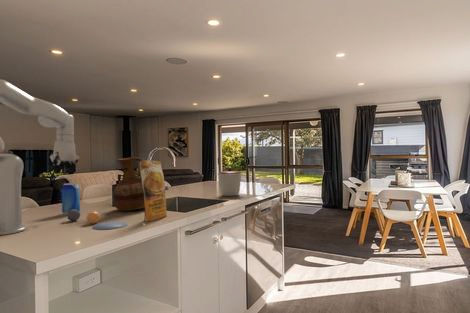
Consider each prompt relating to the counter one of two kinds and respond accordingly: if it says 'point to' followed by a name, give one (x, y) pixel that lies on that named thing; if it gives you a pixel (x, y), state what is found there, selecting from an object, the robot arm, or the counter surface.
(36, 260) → the counter surface
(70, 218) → the gray ball
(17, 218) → the robot arm
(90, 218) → the object ball
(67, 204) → the blue carton
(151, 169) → the pancake mix bag
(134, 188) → the ceramic pitcher
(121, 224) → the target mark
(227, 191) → the canister
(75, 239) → the counter surface
